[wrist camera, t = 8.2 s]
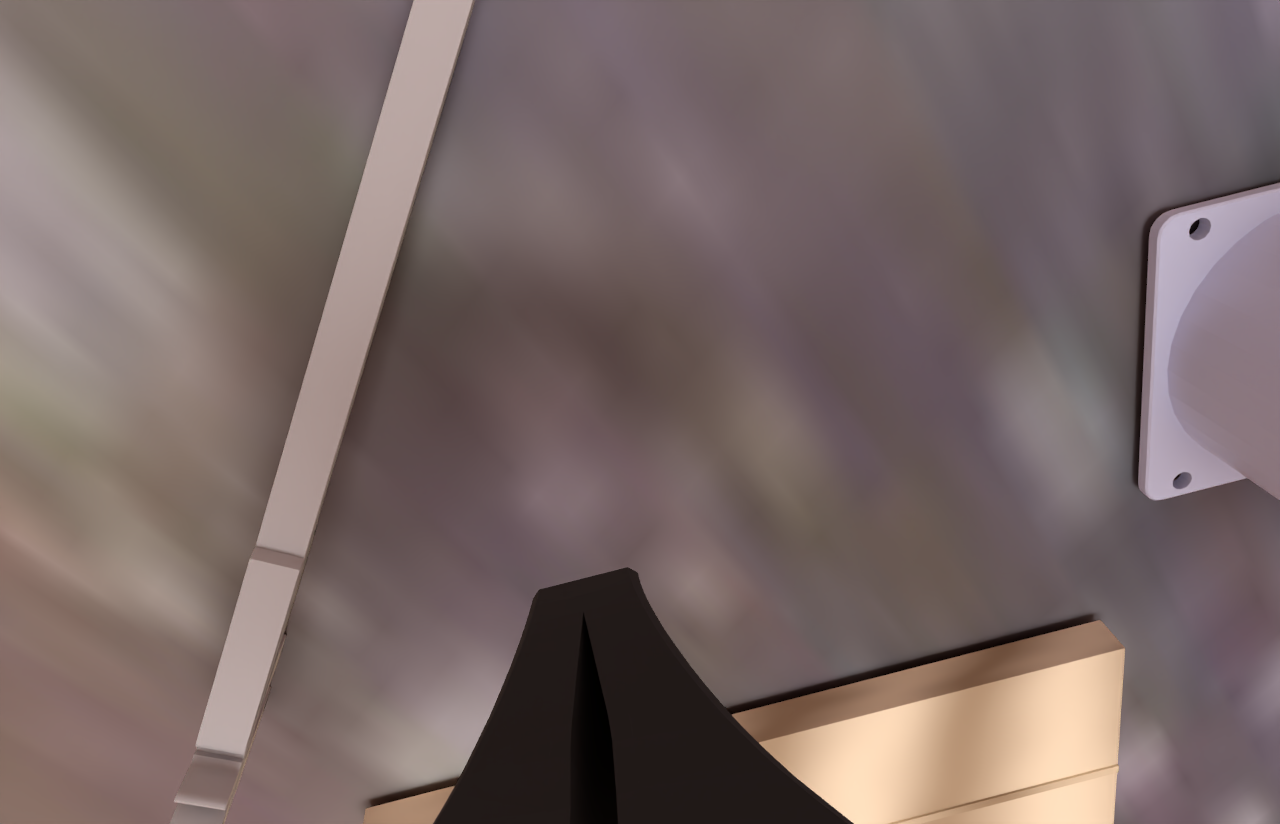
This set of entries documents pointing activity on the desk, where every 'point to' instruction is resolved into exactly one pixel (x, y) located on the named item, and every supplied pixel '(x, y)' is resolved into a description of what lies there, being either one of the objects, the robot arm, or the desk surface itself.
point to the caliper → (324, 406)
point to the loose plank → (945, 738)
